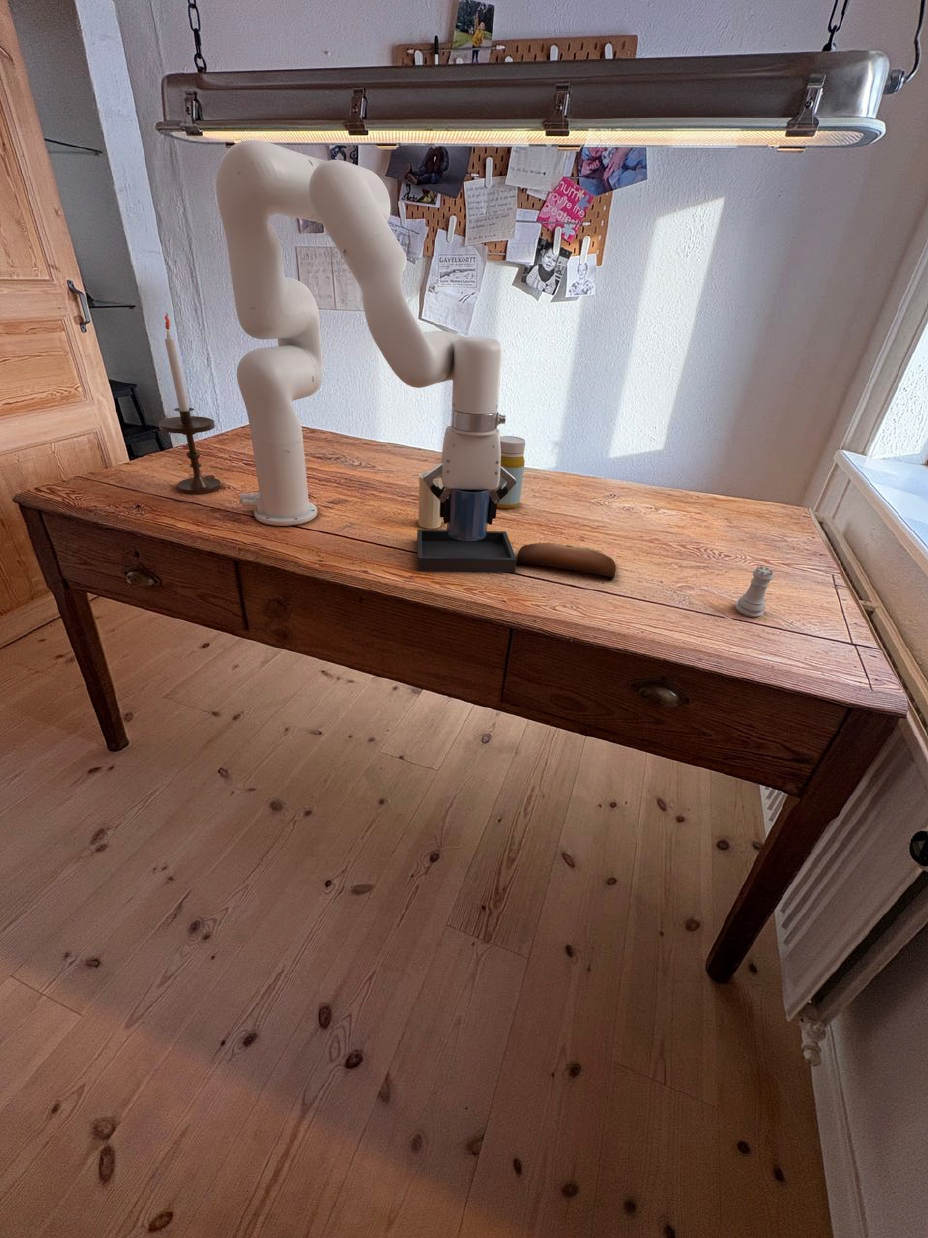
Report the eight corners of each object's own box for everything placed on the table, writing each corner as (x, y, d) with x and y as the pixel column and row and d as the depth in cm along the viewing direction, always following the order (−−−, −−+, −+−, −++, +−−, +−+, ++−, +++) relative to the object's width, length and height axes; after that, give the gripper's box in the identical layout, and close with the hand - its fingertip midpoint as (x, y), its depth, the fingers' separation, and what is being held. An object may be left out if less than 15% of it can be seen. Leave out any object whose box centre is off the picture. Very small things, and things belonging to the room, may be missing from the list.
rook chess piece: (738, 616, 91) (755, 573, 87) (731, 603, 95) (747, 561, 90) (766, 620, 91) (784, 577, 86) (758, 606, 94) (775, 565, 90)
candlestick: (195, 476, 130) (160, 309, 112) (235, 483, 128) (207, 313, 109) (162, 490, 121) (119, 311, 103) (204, 498, 119) (168, 316, 101)
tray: (418, 571, 97) (418, 557, 96) (417, 541, 108) (417, 529, 106) (515, 572, 99) (516, 559, 98) (504, 543, 110) (506, 531, 108)
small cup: (418, 528, 113) (419, 478, 108) (418, 519, 117) (419, 471, 112) (441, 529, 114) (443, 479, 108) (440, 520, 118) (442, 472, 112)
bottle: (517, 511, 125) (525, 445, 117) (487, 507, 126) (493, 441, 118) (520, 501, 131) (528, 437, 123) (492, 497, 132) (498, 433, 124)
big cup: (447, 541, 97) (450, 492, 93) (445, 524, 104) (447, 478, 99) (488, 541, 98) (493, 493, 93) (483, 525, 104) (487, 479, 100)
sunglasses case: (614, 560, 105) (620, 539, 99) (610, 591, 102) (616, 571, 96) (522, 545, 108) (523, 525, 102) (515, 575, 105) (515, 555, 99)
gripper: (521, 418, 94) (510, 514, 104) (420, 413, 92) (419, 512, 102) (529, 428, 88) (517, 530, 97) (421, 424, 86) (419, 528, 96)
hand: (467, 520), depth 100 cm, fingers closed on big cup, 7 cm apart
